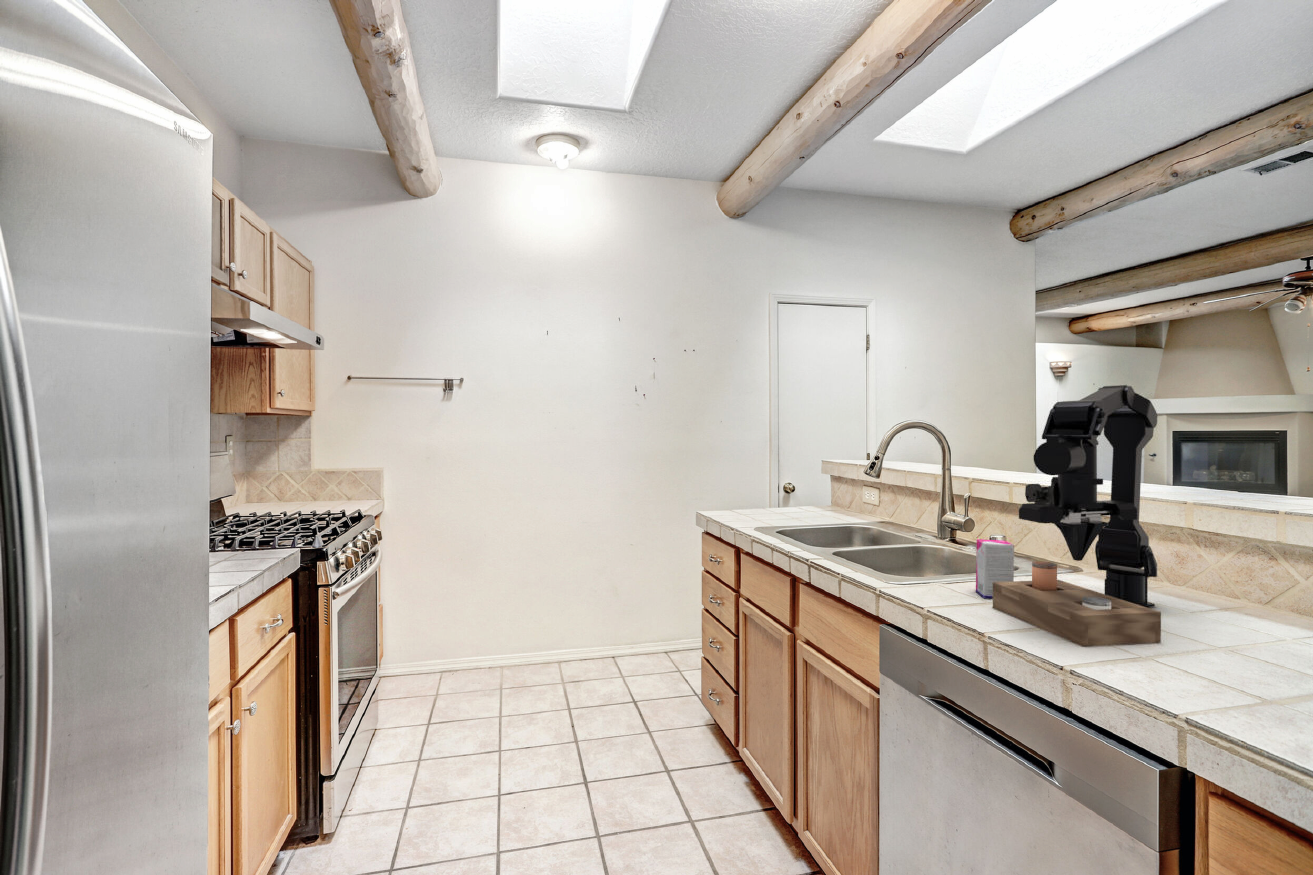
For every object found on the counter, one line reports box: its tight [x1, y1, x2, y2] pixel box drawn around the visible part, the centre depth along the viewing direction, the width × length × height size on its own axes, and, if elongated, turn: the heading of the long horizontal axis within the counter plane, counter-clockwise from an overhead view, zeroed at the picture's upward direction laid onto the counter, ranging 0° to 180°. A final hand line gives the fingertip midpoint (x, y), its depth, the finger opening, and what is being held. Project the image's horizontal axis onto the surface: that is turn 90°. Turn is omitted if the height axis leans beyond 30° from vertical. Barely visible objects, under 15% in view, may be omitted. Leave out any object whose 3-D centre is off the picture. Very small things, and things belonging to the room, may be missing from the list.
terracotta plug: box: [1031, 560, 1058, 591], centre depth 117 cm, size 4×4×6 cm
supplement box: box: [975, 538, 1015, 600], centre depth 130 cm, size 6×6×12 cm
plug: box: [1082, 596, 1111, 610], centre depth 105 cm, size 4×4×6 cm
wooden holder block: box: [992, 579, 1162, 648], centre depth 111 cm, size 14×22×5 cm, turn 7°
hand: (1077, 560), depth 109 cm, fingers closed
